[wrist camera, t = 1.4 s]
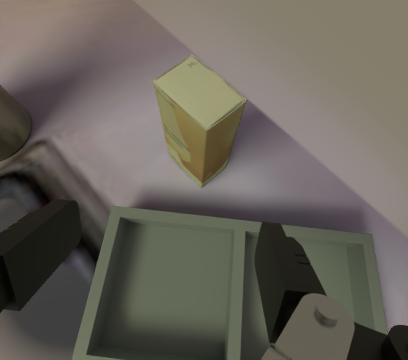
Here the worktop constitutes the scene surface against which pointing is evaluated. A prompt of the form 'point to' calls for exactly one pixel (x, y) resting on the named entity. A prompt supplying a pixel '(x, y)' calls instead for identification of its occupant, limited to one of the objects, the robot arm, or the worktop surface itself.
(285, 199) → the worktop surface
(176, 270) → the carton tray
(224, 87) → the skincare box
